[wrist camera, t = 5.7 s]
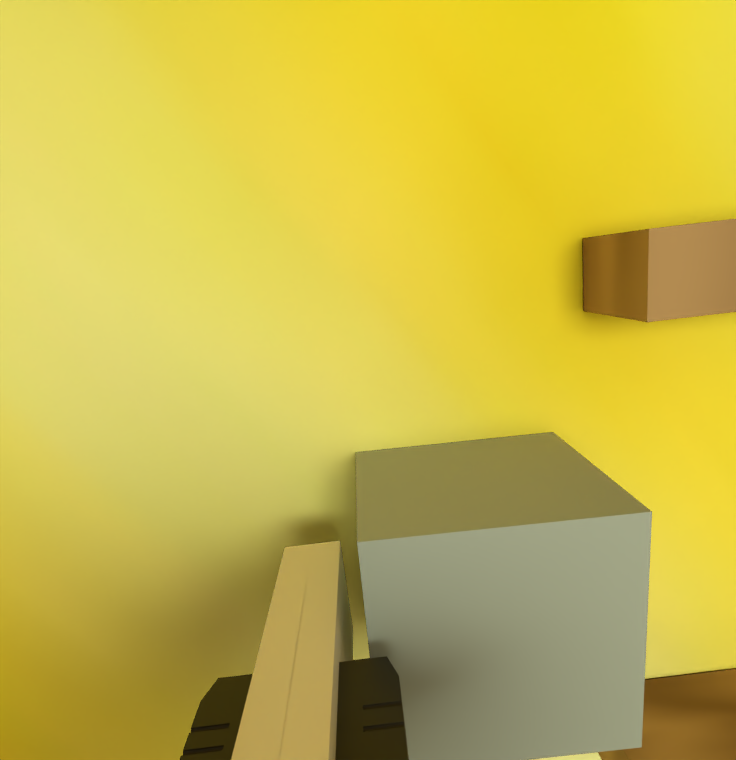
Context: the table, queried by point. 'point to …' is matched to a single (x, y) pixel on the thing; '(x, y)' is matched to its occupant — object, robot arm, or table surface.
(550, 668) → the block
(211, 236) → the table surface
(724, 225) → the channel rails
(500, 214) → the table surface
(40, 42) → the table surface
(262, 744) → the robot arm
